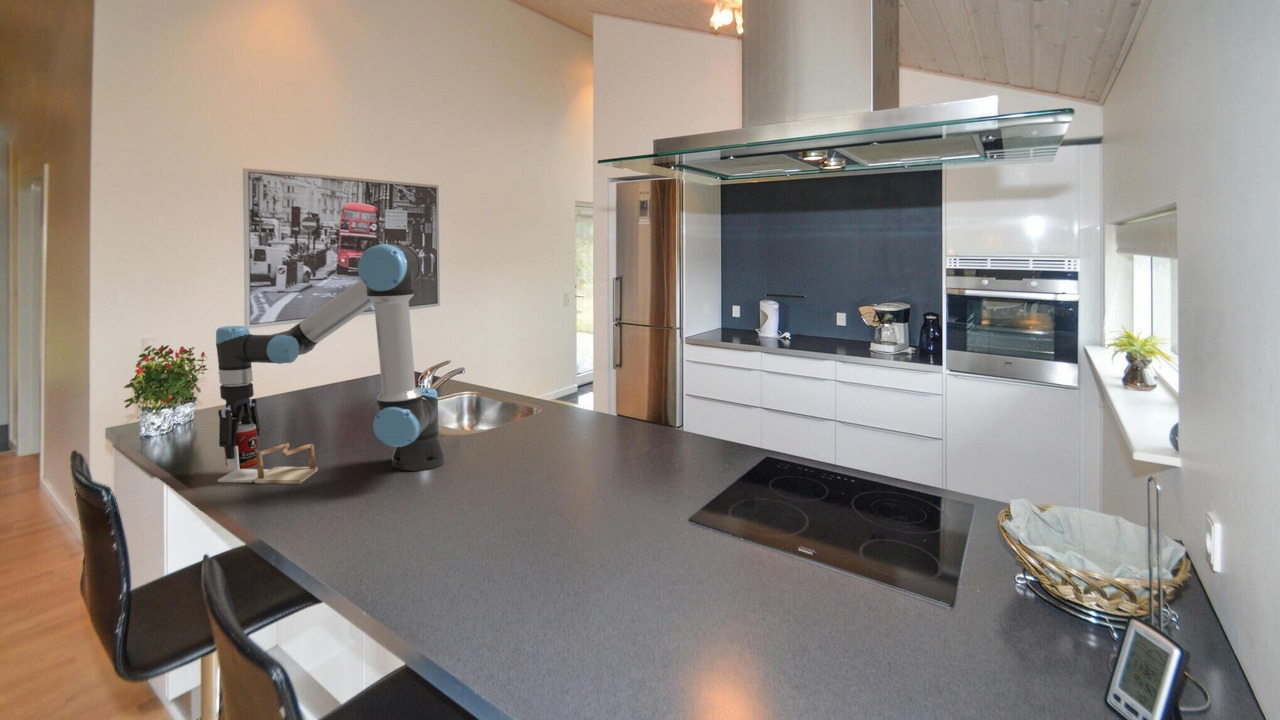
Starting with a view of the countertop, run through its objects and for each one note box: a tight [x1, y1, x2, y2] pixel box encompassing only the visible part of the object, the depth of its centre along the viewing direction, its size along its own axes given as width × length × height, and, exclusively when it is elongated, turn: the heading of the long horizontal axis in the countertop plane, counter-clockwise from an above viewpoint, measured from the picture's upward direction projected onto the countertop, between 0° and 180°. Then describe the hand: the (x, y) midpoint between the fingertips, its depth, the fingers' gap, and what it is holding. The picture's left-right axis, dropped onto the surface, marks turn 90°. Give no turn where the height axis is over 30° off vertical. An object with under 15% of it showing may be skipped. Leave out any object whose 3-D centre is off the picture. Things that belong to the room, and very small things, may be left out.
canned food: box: [223, 422, 259, 469], centre depth 171 cm, size 8×8×11 cm
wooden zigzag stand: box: [253, 442, 319, 485], centre depth 173 cm, size 12×10×8 cm
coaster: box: [217, 468, 270, 483], centre depth 173 cm, size 9×8×1 cm
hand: (242, 463), depth 172 cm, fingers closed on canned food, 8 cm apart
